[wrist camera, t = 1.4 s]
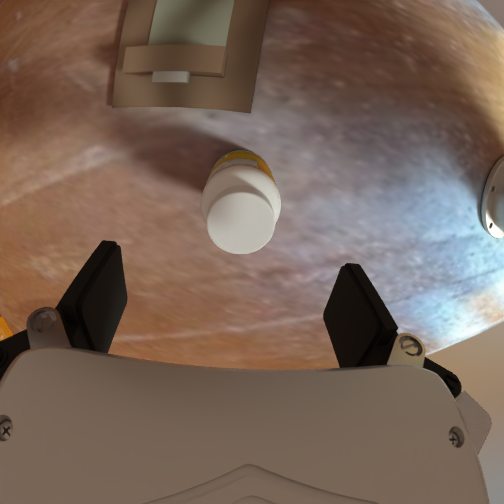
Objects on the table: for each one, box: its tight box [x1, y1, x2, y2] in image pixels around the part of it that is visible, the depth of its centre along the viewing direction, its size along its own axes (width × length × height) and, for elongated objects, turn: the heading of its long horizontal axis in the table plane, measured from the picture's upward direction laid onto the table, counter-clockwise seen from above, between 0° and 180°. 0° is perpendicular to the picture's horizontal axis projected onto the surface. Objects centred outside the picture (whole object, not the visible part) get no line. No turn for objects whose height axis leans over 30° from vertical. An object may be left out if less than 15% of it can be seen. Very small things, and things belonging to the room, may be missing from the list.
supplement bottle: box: [201, 150, 281, 254], centre depth 20 cm, size 5×5×10 cm
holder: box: [112, 0, 270, 113], centre depth 14 cm, size 12×16×5 cm
